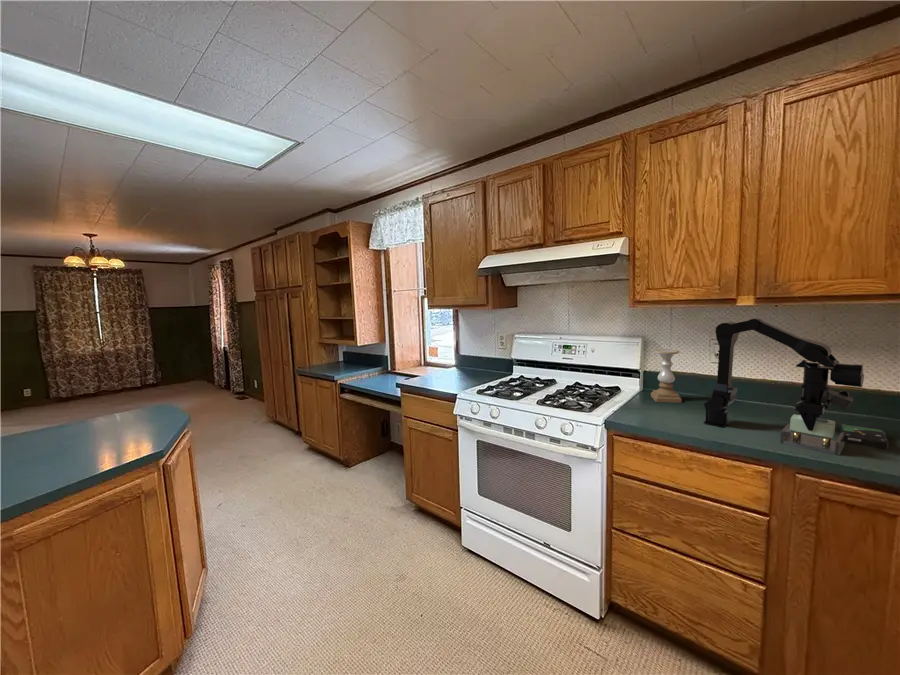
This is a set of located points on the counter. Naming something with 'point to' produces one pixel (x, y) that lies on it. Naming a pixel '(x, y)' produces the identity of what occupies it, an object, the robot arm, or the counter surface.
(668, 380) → the candle holder
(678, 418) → the counter surface
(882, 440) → the disk drive
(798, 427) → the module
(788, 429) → the chassis
